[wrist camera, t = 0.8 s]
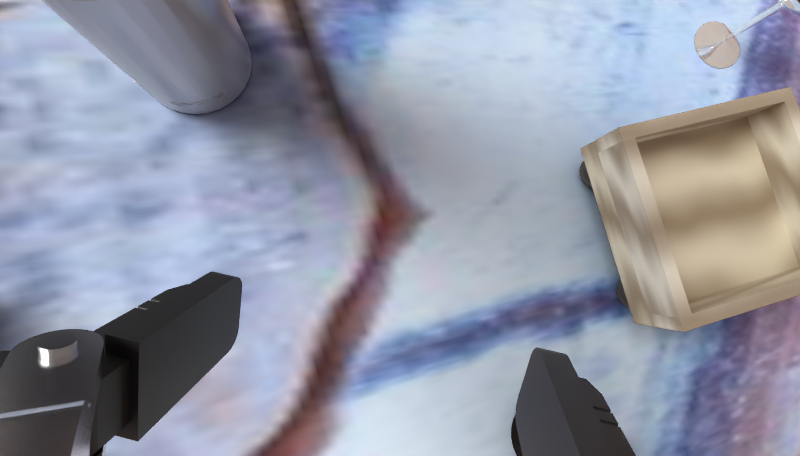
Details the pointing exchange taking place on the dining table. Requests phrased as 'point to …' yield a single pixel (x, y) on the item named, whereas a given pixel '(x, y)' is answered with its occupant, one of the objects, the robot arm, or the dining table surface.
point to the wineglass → (732, 36)
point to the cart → (702, 209)
